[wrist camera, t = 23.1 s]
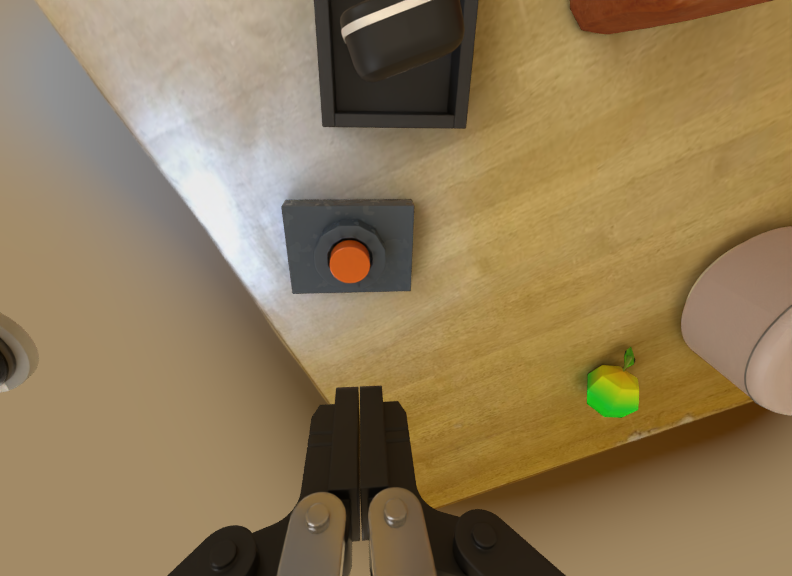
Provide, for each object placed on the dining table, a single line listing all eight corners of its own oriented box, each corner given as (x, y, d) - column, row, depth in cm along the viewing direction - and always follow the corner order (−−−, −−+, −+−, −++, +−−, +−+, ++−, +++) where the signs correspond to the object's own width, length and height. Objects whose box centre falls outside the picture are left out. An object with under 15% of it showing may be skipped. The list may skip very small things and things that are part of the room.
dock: (326, 122, 33) (322, 127, 30) (315, -50, 28) (309, -67, 24) (456, 124, 34) (466, 128, 31) (470, -42, 29) (484, -58, 25)
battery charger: (359, 86, 31) (359, 90, 21) (342, 34, 30) (333, 11, 20) (440, 56, 31) (479, 45, 21) (428, 0, 29) (463, -41, 19)
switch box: (295, 283, 40) (289, 303, 37) (285, 199, 36) (277, 212, 32) (408, 281, 41) (412, 300, 38) (411, 199, 37) (416, 211, 33)
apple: (624, 439, 45) (658, 383, 41) (570, 411, 48) (597, 356, 44) (631, 406, 51) (662, 353, 46) (582, 383, 54) (607, 331, 49)
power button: (331, 275, 36) (330, 284, 35) (329, 239, 34) (328, 247, 33) (369, 274, 36) (370, 283, 35) (369, 239, 35) (369, 246, 33)
